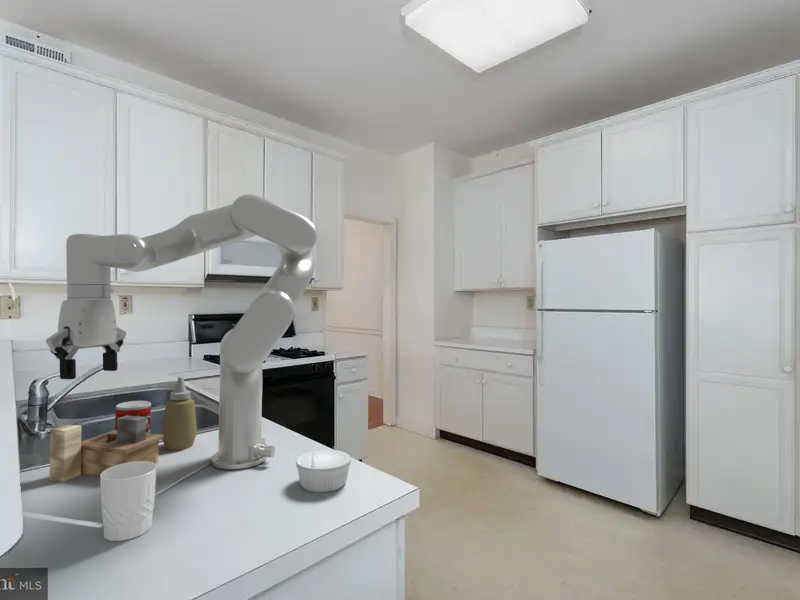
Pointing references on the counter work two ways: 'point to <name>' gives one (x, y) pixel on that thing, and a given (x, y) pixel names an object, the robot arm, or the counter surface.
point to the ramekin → (323, 470)
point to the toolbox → (115, 457)
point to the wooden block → (65, 453)
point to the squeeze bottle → (179, 419)
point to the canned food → (135, 411)
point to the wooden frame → (123, 437)
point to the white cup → (127, 499)
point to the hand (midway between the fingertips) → (90, 374)
